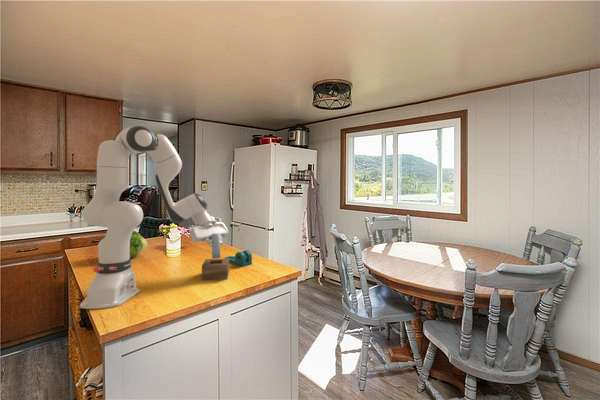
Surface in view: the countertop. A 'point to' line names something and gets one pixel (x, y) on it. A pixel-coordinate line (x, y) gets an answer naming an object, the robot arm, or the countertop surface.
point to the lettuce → (137, 244)
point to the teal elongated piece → (241, 258)
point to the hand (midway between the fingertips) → (216, 245)
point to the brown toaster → (215, 269)
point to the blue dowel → (216, 245)
